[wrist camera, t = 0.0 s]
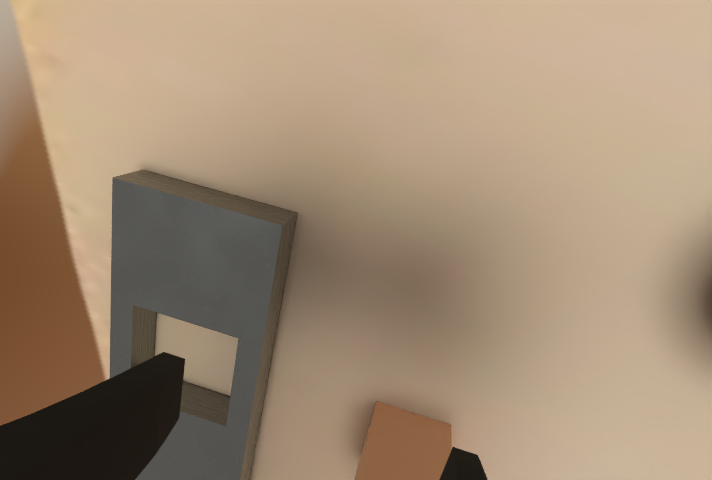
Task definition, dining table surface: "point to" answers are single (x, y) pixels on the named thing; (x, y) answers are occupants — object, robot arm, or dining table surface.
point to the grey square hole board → (199, 307)
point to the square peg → (403, 446)
